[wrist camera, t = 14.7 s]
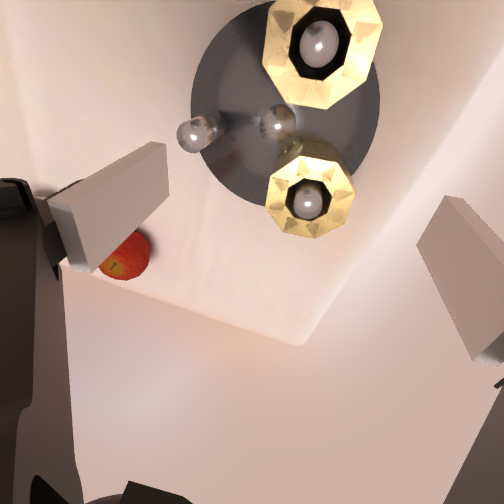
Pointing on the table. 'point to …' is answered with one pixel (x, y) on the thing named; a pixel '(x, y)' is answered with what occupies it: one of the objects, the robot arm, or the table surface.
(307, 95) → the seated gear
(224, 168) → the carrier
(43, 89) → the table surface
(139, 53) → the table surface
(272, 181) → the gear
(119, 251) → the apple
